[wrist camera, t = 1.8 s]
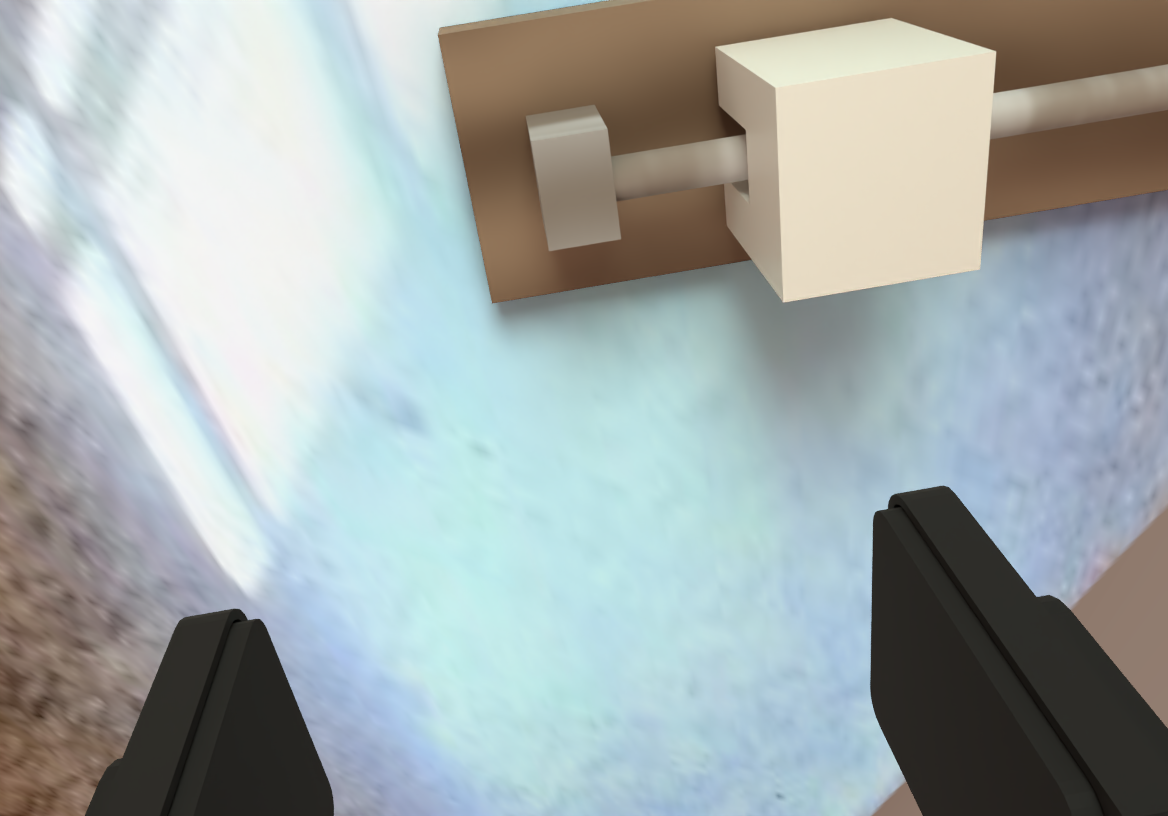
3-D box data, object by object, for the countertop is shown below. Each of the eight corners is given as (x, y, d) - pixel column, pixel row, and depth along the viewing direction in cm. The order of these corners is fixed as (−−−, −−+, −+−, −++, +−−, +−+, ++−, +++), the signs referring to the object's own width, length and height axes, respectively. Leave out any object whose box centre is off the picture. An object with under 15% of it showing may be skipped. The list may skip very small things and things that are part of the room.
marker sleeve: (715, 46, 26) (775, 87, 21) (891, 17, 26) (996, 51, 21) (726, 225, 29) (783, 302, 23) (887, 198, 29) (979, 269, 24)
